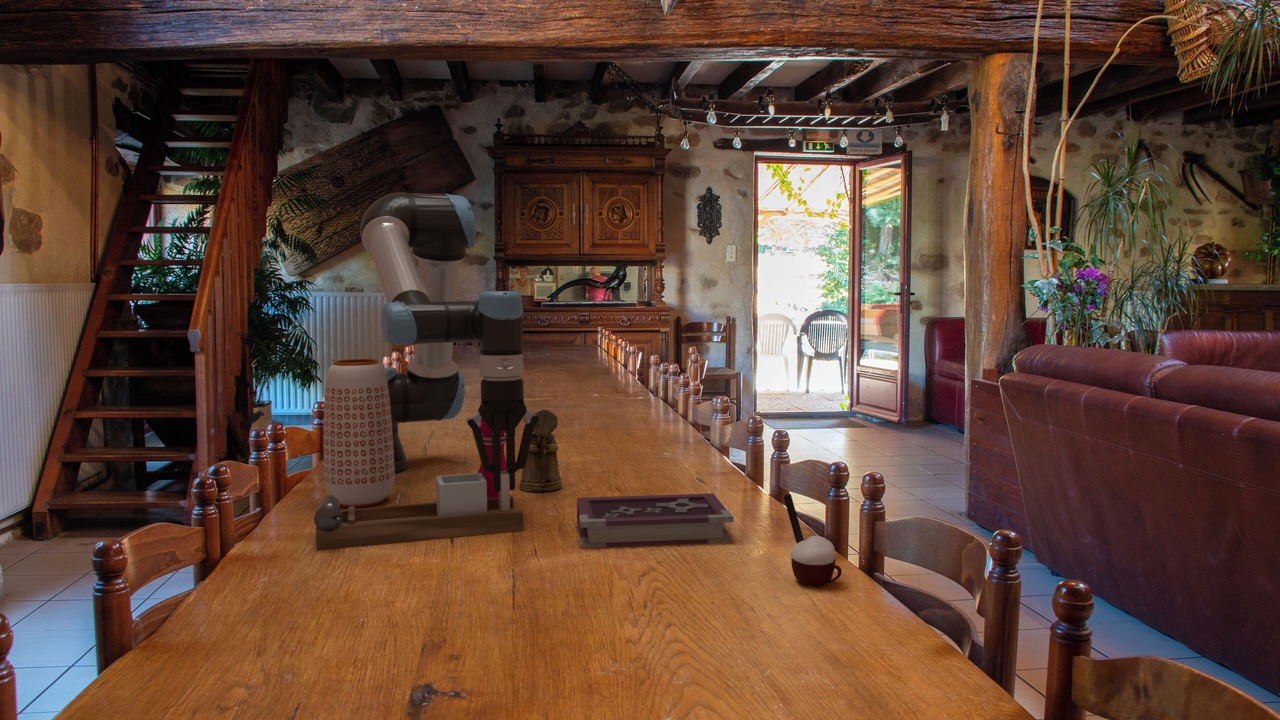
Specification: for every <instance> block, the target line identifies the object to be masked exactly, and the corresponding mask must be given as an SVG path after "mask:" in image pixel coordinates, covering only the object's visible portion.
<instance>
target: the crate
mask: <svg viewBox="0 0 1280 720" xmlns="http://www.w3.org/2000/svg"><path fill="white" fill-rule="evenodd" d="M435 490H436V491H435V492H436V493H435V494H436V495H435V497H436V502H437V516H438V517H442V516H453V515H465V514H477V513H487V481H486V480H485V478H484V477H483V475H482V474H481V473H478V472H473V473H472V472H471V473H459V474H445V475H435Z"/></svg>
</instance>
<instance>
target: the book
mask: <svg viewBox="0 0 1280 720" xmlns="http://www.w3.org/2000/svg"><path fill="white" fill-rule="evenodd" d="M576 517H577V518H576V522H577V528H578V529H577V530H578V536H579V547H580V549H598V548H620V547H622V548H623V547H626V548H627V547H644V546H647V547H648V546H674V545H676V546H677V545H678V546H679V545H695V544H696V545H698V544H699V545H700V544H701V545H702V544H729V543H731V544H732V543H733V539H732V537H731V536H730V535H729V533H728V532H727V531H726V530H725V528H724V524H725V523H734V515H733V514H732V513H731V512H730V510H728V509H727V508H726V507H725V506H724V504H723V503H722V502H721V501H720V500H719V498H718V497H717V495H715V493H688V494H685V493H683V494H681V493H680V494H655V495H654V494H653V495H647V494H646V495H627V496H626V495H623V496H622V495H621V496H620V495H619V496H618V495H617V496H592V497H591V496H590V497H589V496H586V497H584V496H583V497H576Z"/></svg>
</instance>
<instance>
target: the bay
mask: <svg viewBox="0 0 1280 720" xmlns="http://www.w3.org/2000/svg"><path fill="white" fill-rule="evenodd" d="M340 510H341V512H342V514H343V521H342V524H341V525H340V527H339V528H338V529H336V530H335V531H334V530H333V529H334V527H333V528H332V530H333V531H332V532H324V531H325V530H326V529H327V530H328V528H326V529H325V528H324V529H325V530H324V531H321V530H320V529H318V528H317V527H316V526H315V527H316V528H315V537H316V538H315V540H316V551H317V550H319V551H320V550H329V549H330V550H333V549H342V548H352V547H363V546H373V545H382V544H383V545H384V544H396V543H405V542H417V541H425V540H428V541H429V540H437V539H439V540H440V539H448V538H450V539H451V538H459V537H470V536H481V535H490V534H499V533H501V534H502V533H512V532H521V531H524V510H523V509H515V508H514V496H513V495H512V496H510V510H501V509H500V507H499V497H497V498H487V513H477V514H465V515H453V516H442V517H438V516H437V501H436V502H425V503H423V502H422V503H412V504H411V503H410V504H401V505H389V506H388V505H386V506H375V507H373V506H372V507H360V508H355V506H351V507H348V509H340ZM336 528H337V527H336ZM330 529H331V528H330ZM328 531H329V530H328ZM330 531H331V530H330Z"/></svg>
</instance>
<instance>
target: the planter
mask: <svg viewBox="0 0 1280 720" xmlns="http://www.w3.org/2000/svg"><path fill="white" fill-rule="evenodd" d="M384 368H385V367H384V366H383V365H382V364H381V363H380V362H379V361H378V359H373V358H352V359H351V358H350V359H349V358H347V359H337V360H334V361H333V363H332V364H331V365H330V366H329V368H328V370H327V372H326V375H325V384H324V385H325V386H324V399H323V482H324V483H323V484H324V486H325V490H326V492H327V495H334V497H335V498H337V499H338V500H339V503H340V507H342V508H343V507H344V508H349V507H351V506H355V509H358V508H368V507H373V506H376V505H377V506H378V504H382V503H383V502H384V500H385V499H386V497H387V496H388V495H390V492H391V491H392V489H393V487H394V484H395V479H396V478H395V476H396V473H395V467H394V450H393V433H392V420H391V409H390V398H389V390H388V383H387V376H386V372H385V370H384Z"/></svg>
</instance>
